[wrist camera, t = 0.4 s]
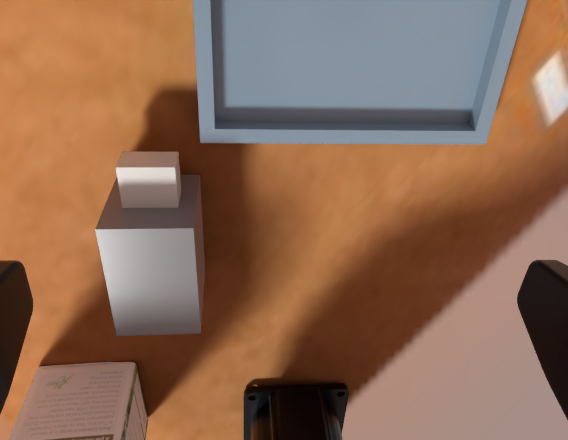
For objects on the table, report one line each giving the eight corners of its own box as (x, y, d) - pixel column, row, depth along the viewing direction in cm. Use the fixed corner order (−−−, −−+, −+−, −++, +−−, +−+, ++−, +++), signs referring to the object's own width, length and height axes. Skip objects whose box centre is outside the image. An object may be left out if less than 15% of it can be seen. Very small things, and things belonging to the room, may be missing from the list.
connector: (205, 270, 25) (200, 333, 22) (133, 271, 25) (116, 336, 21) (198, 136, 21) (190, 186, 18) (112, 136, 21) (87, 186, 17)
